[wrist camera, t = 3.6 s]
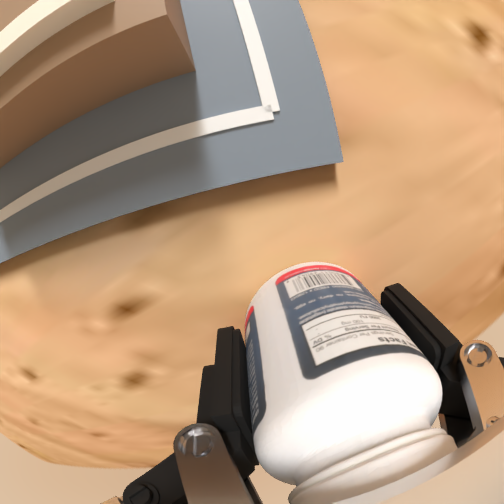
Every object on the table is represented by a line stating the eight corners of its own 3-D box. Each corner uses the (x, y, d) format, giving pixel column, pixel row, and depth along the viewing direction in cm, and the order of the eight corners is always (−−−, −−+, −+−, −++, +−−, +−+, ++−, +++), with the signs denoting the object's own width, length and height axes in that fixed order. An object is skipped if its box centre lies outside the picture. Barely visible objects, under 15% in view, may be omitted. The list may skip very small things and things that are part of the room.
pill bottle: (305, 377, 12) (349, 541, 4) (219, 327, 11) (207, 549, 3) (385, 303, 11) (501, 454, 3) (307, 230, 10) (473, 446, 2)
